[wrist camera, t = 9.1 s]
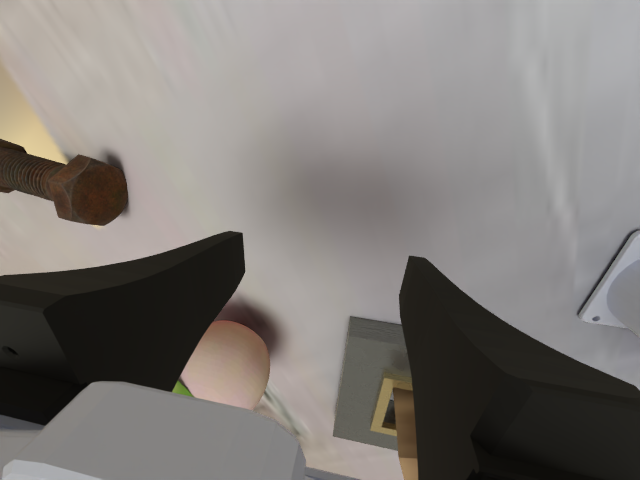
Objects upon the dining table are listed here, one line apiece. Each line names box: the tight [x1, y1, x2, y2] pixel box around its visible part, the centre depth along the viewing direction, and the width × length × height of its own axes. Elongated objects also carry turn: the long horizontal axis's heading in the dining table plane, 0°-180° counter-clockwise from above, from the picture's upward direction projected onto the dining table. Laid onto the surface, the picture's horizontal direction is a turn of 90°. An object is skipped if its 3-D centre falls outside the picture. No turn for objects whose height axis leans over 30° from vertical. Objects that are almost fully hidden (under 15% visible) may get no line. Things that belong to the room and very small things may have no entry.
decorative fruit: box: [172, 320, 270, 410], centre depth 25 cm, size 9×8×10 cm
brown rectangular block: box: [393, 387, 418, 480], centre depth 25 cm, size 4×4×8 cm
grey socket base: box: [333, 317, 413, 451], centre depth 27 cm, size 16×16×3 cm
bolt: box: [0, 139, 128, 226], centre depth 22 cm, size 6×5×15 cm
